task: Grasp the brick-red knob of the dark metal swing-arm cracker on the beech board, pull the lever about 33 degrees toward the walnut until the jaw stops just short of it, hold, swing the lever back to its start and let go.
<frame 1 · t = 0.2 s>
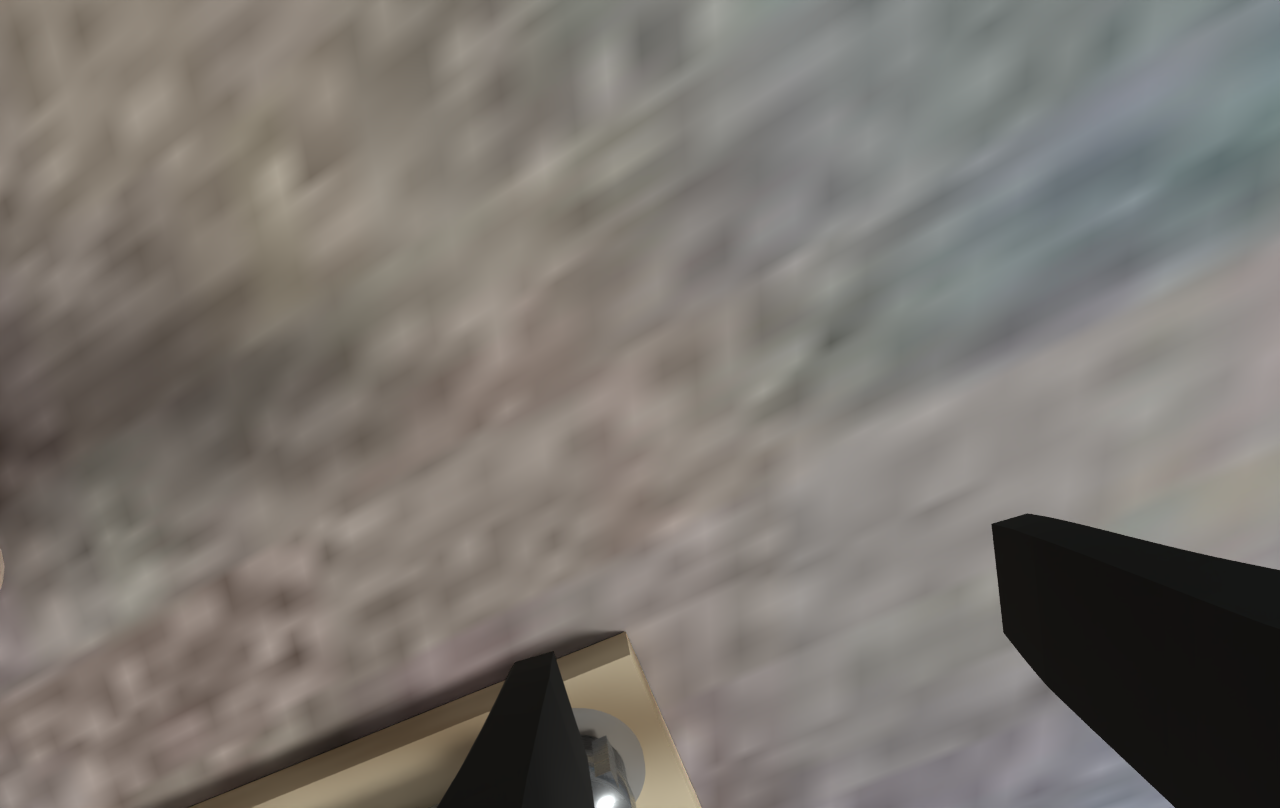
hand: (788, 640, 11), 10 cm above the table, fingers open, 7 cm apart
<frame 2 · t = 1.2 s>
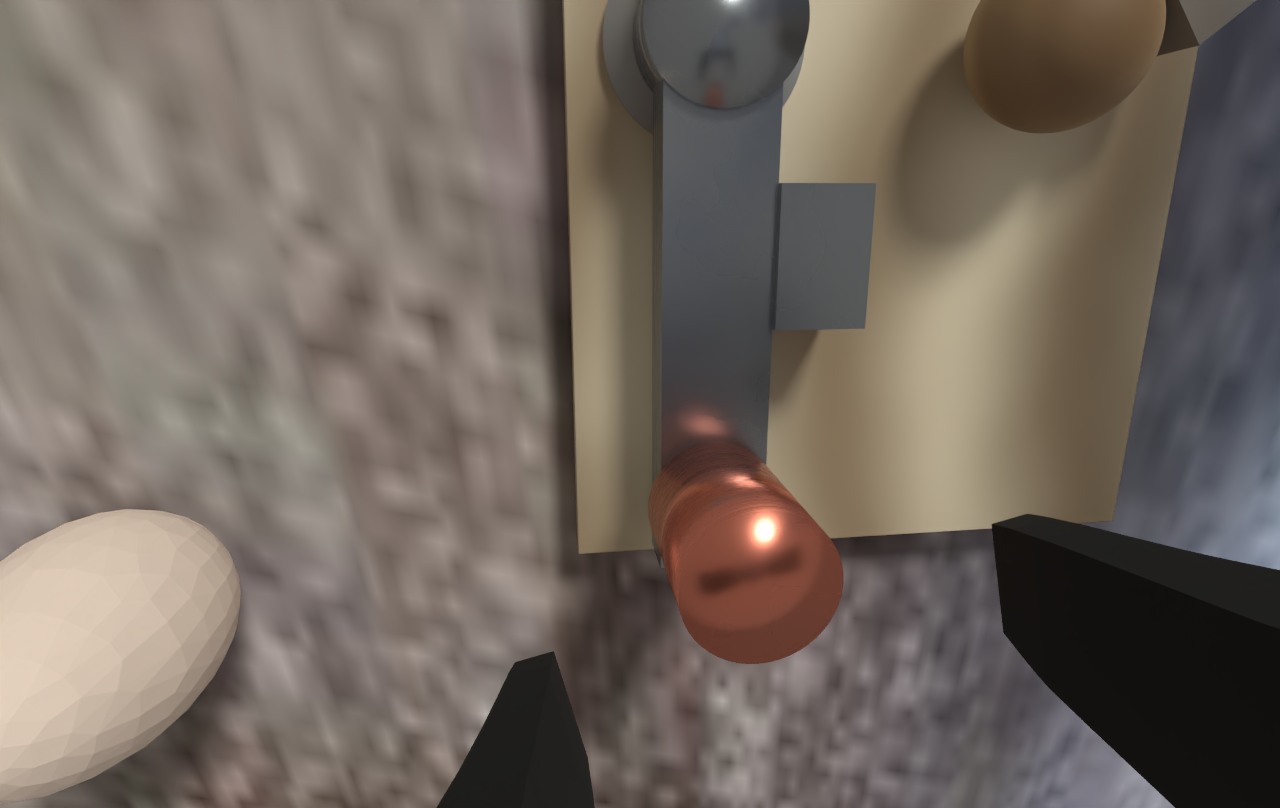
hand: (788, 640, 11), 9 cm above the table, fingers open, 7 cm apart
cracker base: (861, 249, 19), on the table
egg: (186, 552, 19), on the table
lever: (772, 285, 14), point 4 cm above the table, hinge at 0.0°
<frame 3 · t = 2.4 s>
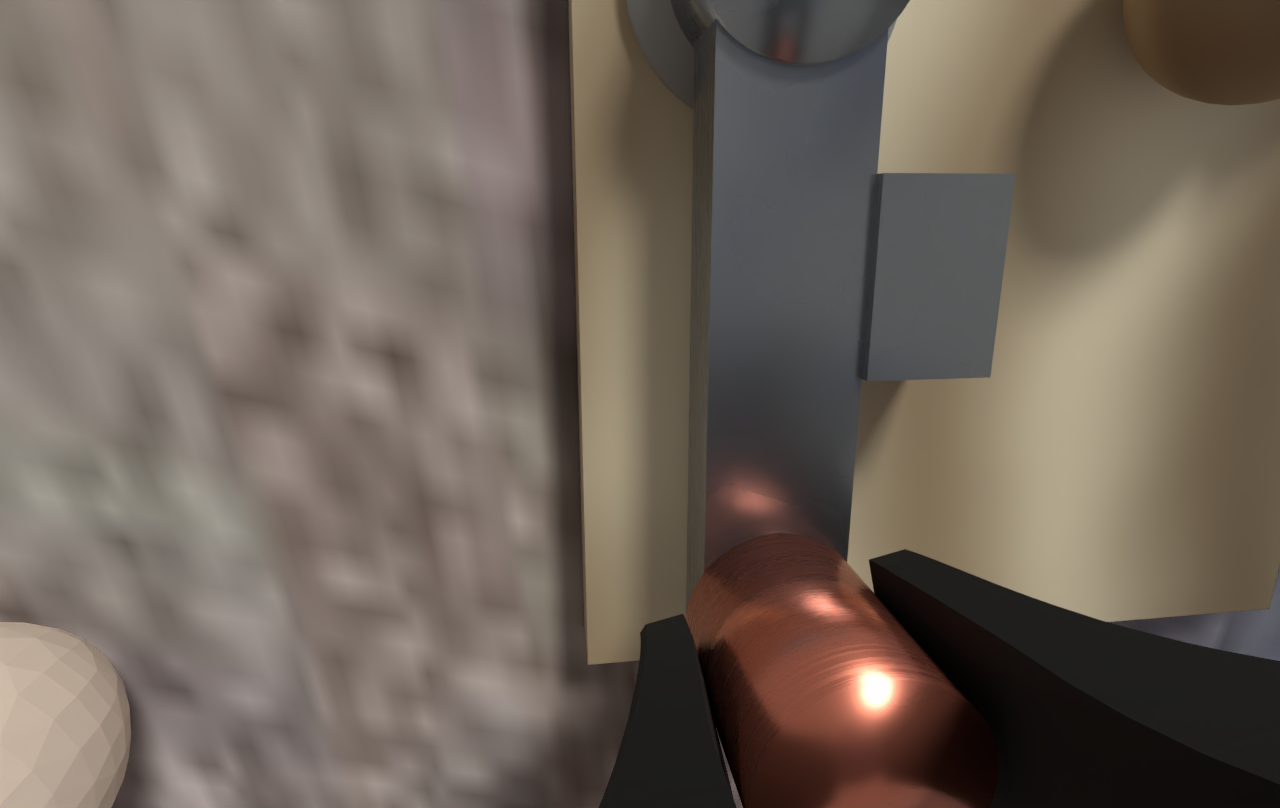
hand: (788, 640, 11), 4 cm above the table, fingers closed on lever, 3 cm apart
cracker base: (957, 263, 14), on the table
egg: (71, 663, 14), on the table
lever: (873, 321, 10), point 4 cm above the table, hinge at 0.0°, touching gripper
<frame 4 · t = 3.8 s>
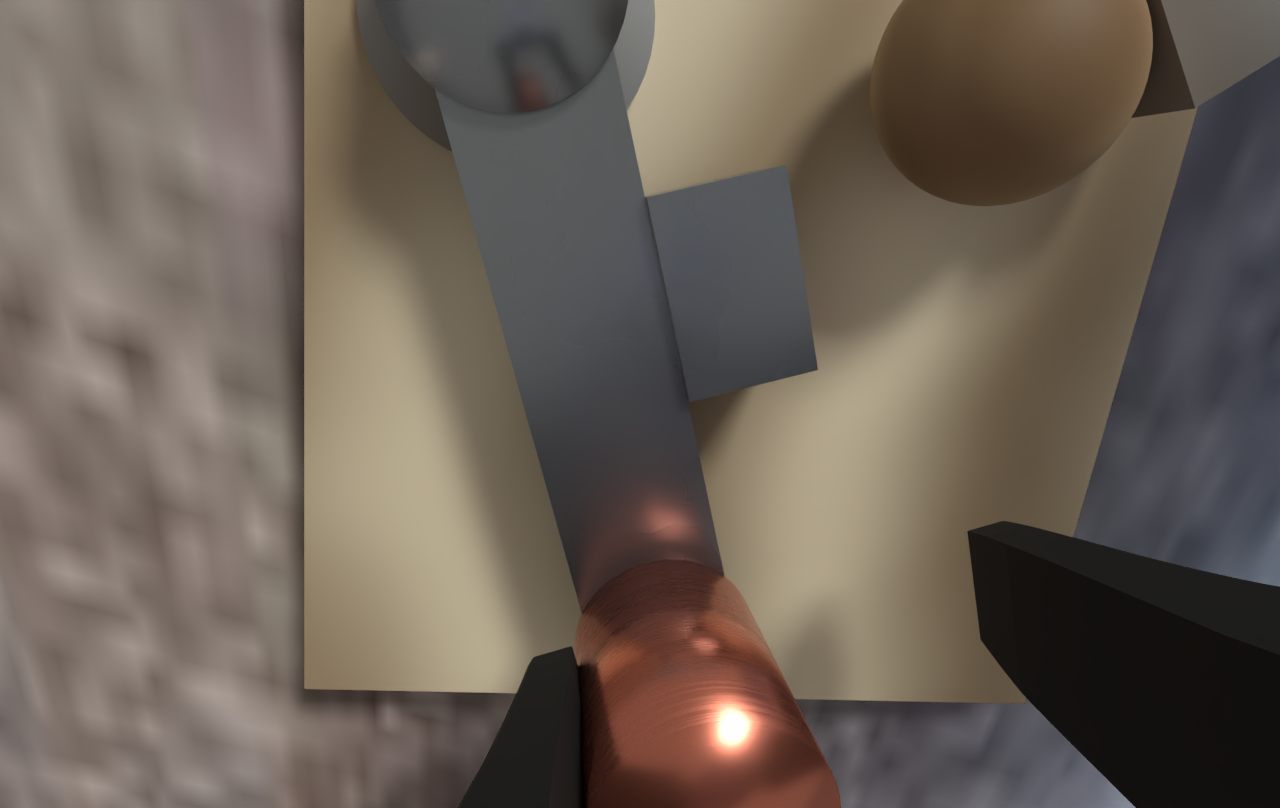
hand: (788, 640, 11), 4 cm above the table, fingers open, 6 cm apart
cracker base: (731, 324, 14), on the table
lever: (657, 352, 10), point 4 cm above the table, hinge at 19.3°, touching gripper
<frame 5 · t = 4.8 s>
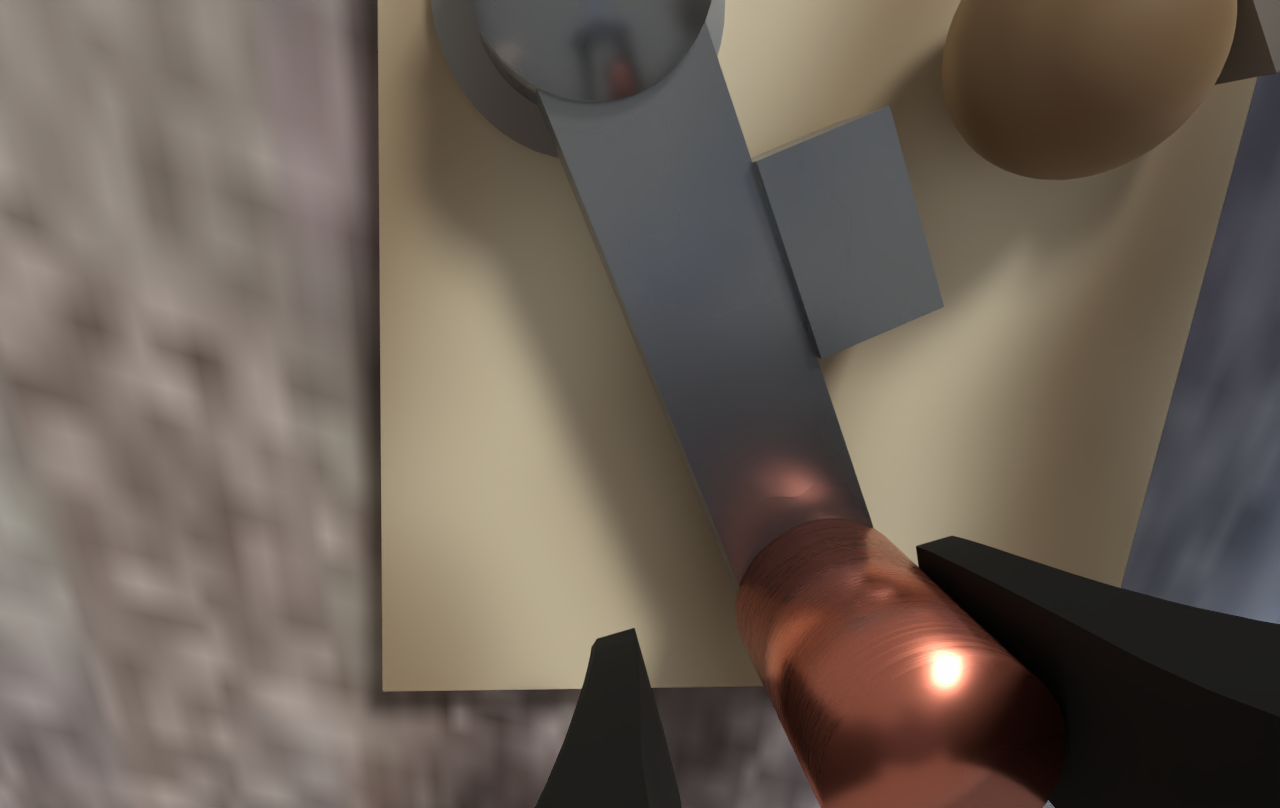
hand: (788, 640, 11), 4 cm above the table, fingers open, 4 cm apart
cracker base: (795, 310, 14), on the table
lever: (796, 312, 10), point 4 cm above the table, hinge at 26.5°, touching gripper
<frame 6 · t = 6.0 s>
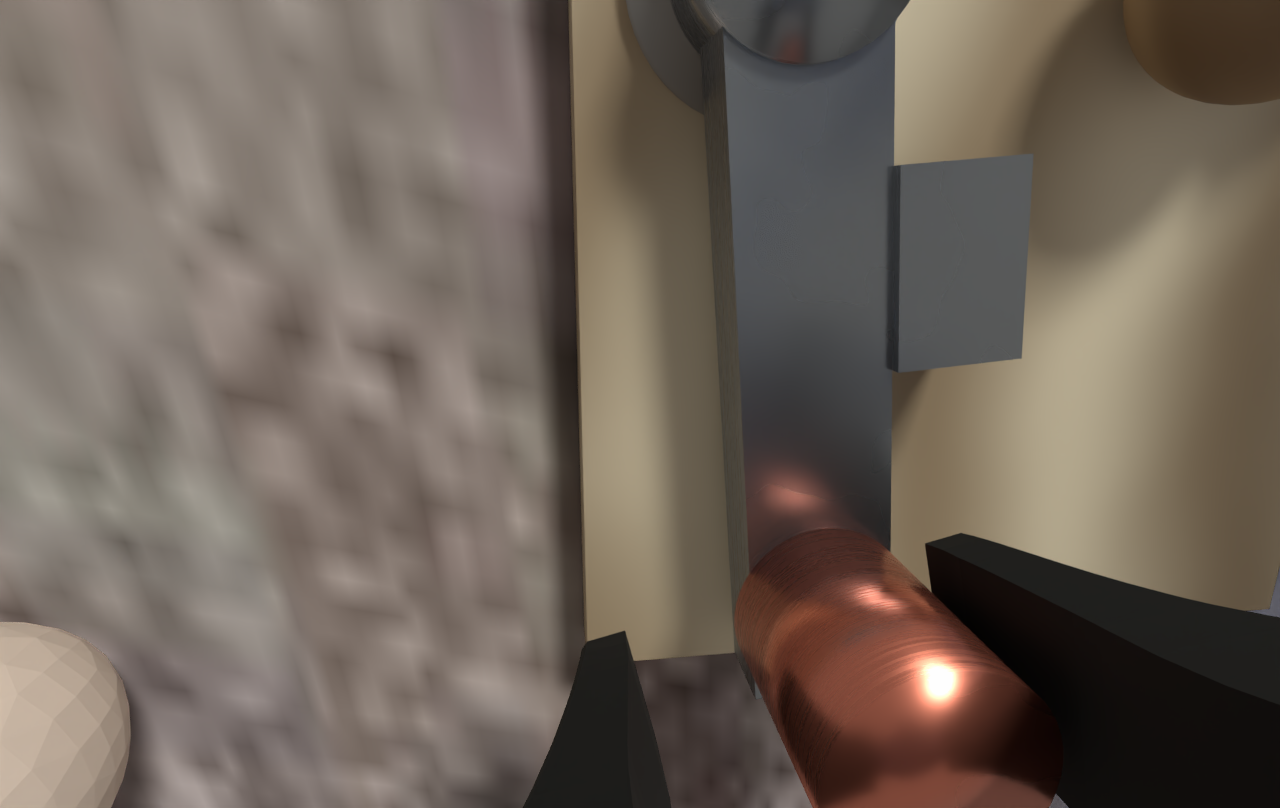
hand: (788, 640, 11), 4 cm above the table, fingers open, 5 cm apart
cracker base: (957, 263, 14), on the table
egg: (71, 663, 14), on the table
lever: (902, 314, 10), point 4 cm above the table, hinge at 4.7°
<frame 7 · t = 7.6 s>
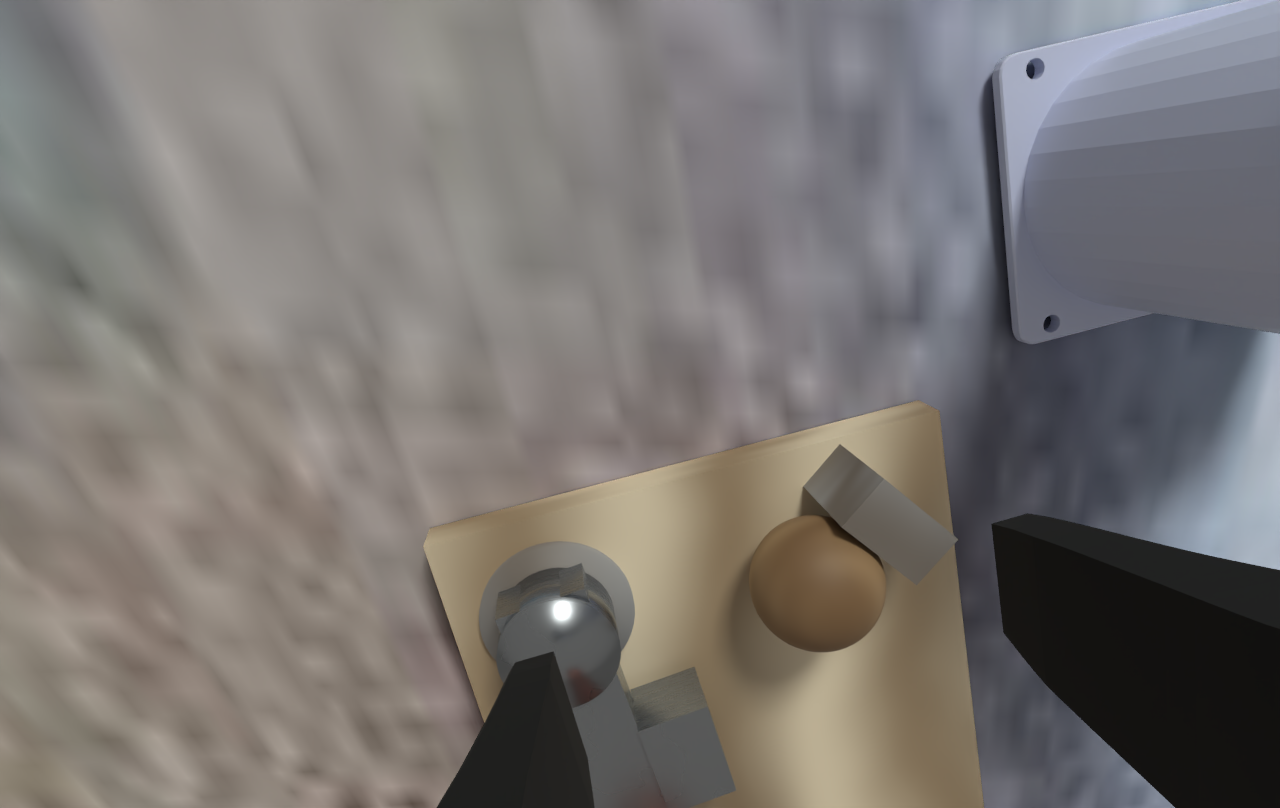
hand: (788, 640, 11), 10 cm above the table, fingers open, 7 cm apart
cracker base: (727, 673, 23), on the table
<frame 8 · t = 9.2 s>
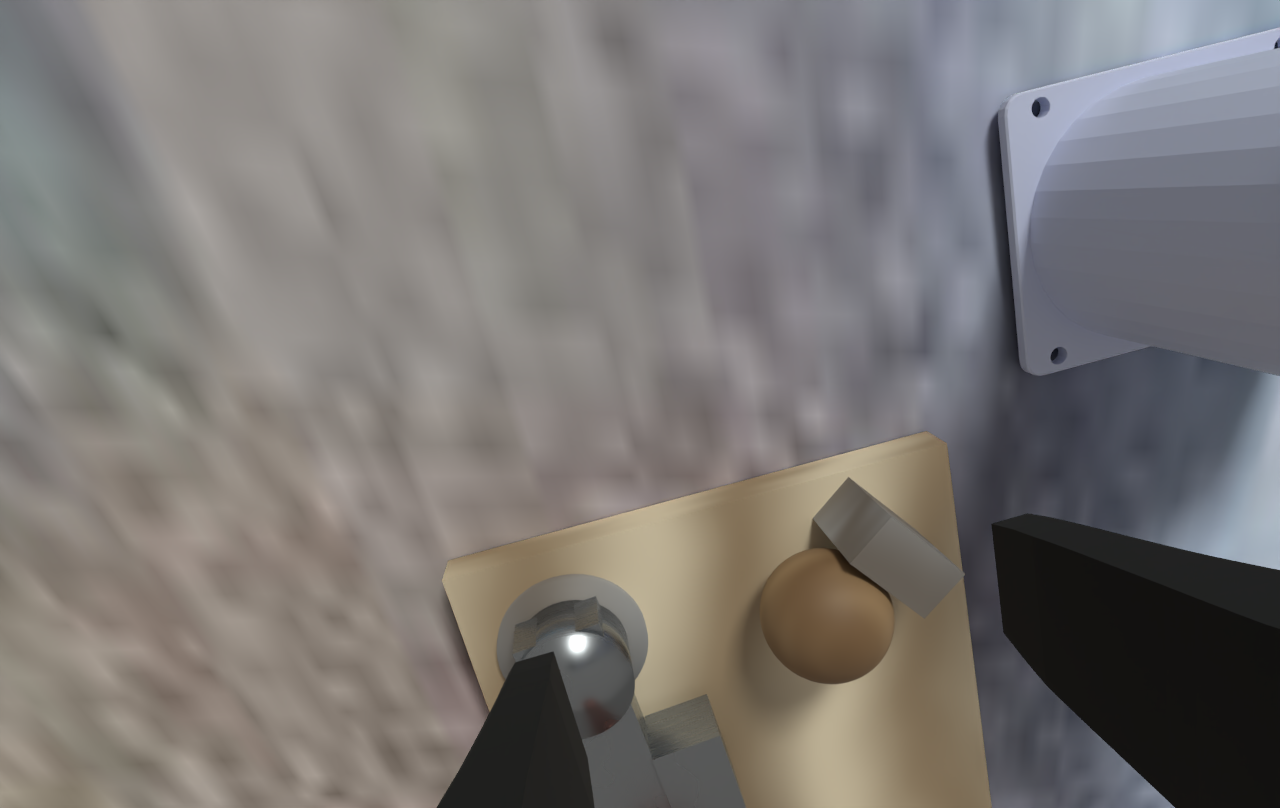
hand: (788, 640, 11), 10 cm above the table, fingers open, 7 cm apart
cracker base: (739, 697, 24), on the table
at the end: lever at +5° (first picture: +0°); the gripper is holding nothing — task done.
